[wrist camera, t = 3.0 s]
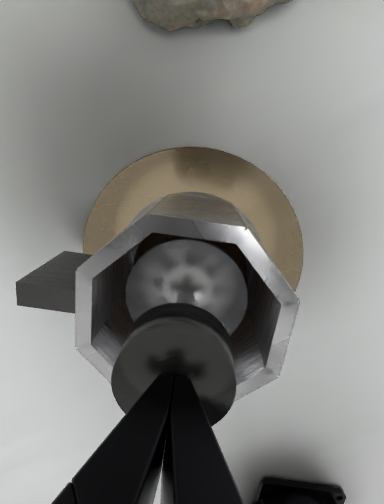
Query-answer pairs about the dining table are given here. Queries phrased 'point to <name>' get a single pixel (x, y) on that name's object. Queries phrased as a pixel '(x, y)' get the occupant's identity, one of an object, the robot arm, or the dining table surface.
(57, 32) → the dining table surface
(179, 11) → the long grey stone
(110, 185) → the moka pot
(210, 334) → the dark round knob
